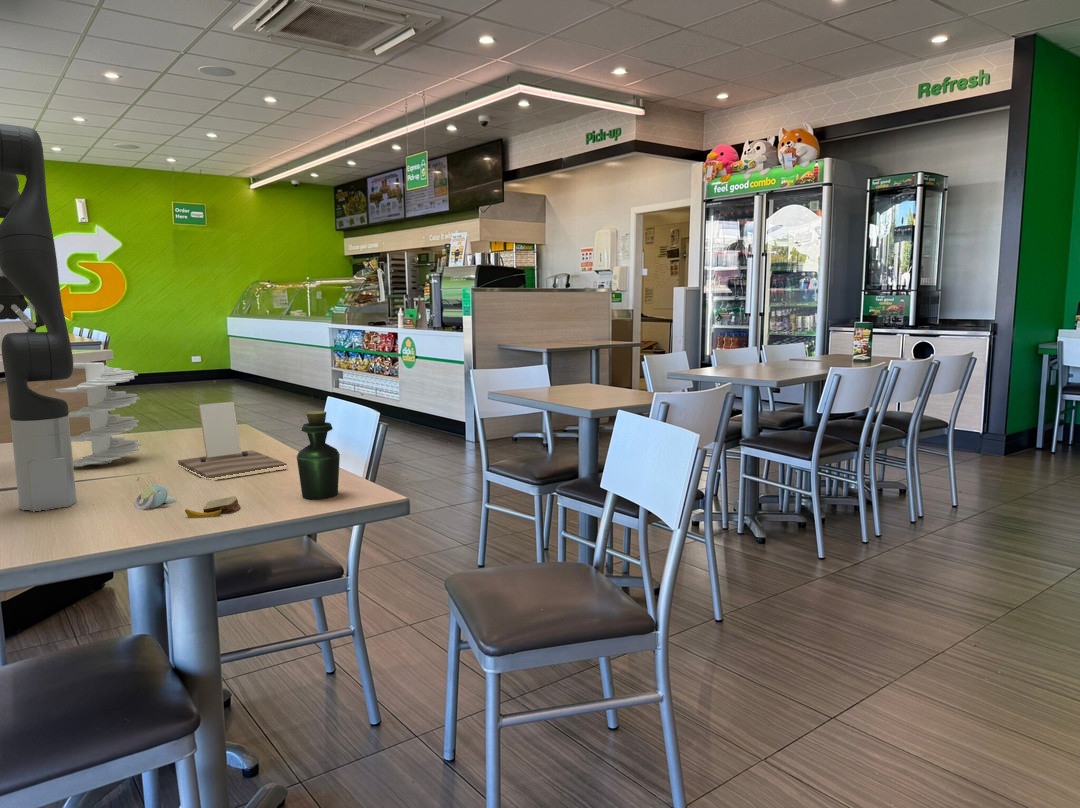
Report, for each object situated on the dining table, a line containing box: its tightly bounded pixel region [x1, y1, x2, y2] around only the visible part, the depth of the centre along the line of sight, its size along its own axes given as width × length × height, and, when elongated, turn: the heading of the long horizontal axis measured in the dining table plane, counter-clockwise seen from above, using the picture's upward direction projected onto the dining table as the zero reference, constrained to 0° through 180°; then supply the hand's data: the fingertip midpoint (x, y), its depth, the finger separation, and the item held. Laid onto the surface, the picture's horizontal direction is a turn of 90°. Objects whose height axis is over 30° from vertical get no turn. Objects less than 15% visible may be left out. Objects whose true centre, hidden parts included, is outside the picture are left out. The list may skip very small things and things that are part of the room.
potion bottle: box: [296, 410, 341, 501], centre depth 145 cm, size 8×8×18 cm
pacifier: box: [133, 483, 177, 511], centre depth 141 cm, size 7×6×6 cm
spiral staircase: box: [55, 361, 142, 467], centre depth 183 cm, size 18×18×25 cm
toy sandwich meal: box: [184, 495, 241, 519], centre depth 135 cm, size 9×10×4 cm
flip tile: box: [198, 401, 242, 458], centre depth 181 cm, size 13×8×1 cm
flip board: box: [177, 450, 288, 478], centre depth 177 cm, size 22×18×3 cm
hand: (9, 345), depth 171 cm, fingers open, 8 cm apart
